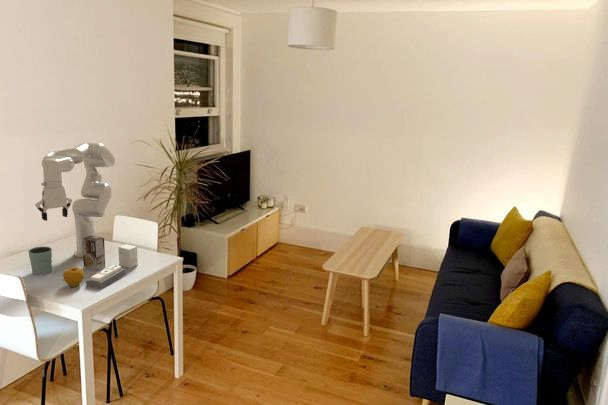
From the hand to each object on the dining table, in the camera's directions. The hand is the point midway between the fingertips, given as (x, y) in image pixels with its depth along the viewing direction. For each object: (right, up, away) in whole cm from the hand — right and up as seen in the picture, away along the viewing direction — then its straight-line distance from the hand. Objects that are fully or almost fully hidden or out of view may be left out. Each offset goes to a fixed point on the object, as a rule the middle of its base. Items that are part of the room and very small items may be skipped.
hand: (55, 218), depth 224 cm
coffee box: (+12, -26, +16) cm, 33 cm away
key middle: (+25, -29, +1) cm, 38 cm away
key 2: (+26, -28, +7) cm, 39 cm away
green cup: (-10, -28, +6) cm, 30 cm away
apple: (+13, -32, -7) cm, 35 cm away
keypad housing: (+25, -30, +1) cm, 39 cm away
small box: (+28, -26, +21) cm, 44 cm away
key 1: (+23, -30, -5) cm, 39 cm away
